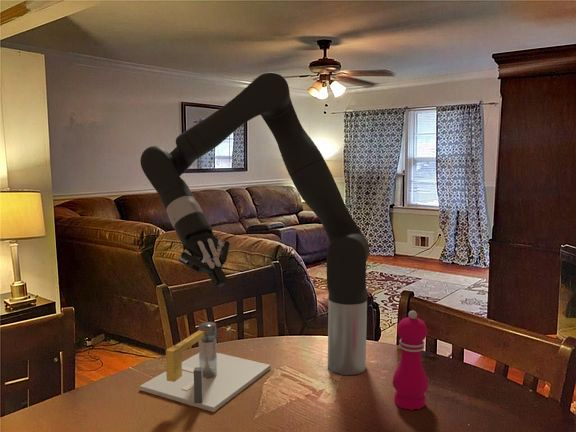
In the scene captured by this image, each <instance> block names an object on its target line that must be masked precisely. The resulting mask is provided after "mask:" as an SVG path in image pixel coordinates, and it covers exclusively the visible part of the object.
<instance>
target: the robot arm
mask: <svg viewBox="0 0 576 432" xmlns="http://www.w3.org/2000/svg"><path fill="white" fill-rule="evenodd" d="M258 116H261V118H262V119H263V120H264V122H265V124H266V126H267V127H268V129H269V131H270V132H271V133H272V135H273V138H274V140H275V141H276V144H277V147H278V149H279V153H280V155H281V158H282V161H283V163H284V167H285V168H286V170H287V172H288V175H289V177H290V179H291V180H292V183H293V185H294V187H295V189H296V190H297V192H298V195H299V196H300V197H301V199H302V200H303V201H304V202H305V204H306V205H307V206H308V207H309V209H310V210H311V211H312V212H313V213H314V215H315V216H316V217H317V218H318V220H319V221H320V223H321V225H322V227H323V228H324V231H325V233H326V236H327V237H328V240H329V245H328V247H327V250H326V251H327V252H326V286H327V291H328V292H327V293H328V310H327V312H328V313H327V314H328V318H327V319H328V320H327V321H328V322H327V328H328V329H327V369H329V371H331V372H332V373H335V374H338V375H341V376H343V375H345V376H354V375H359V374H361V373H364V372H365V371H366V361H367V360H366V359H367V357H366V355H367V322H368V321H367V319H368V314H367V313H368V312H367V311H368V289H367V261H368V259H369V256H370V245H369V242H368V240H367V238H366V237H365V234H364V233H363V232H362V231H361V229H360V227H359V226H358V224H357V223H356V222H355V220H354V218H353V217H352V215H351V213H350V212H349V210H348V208H347V206H346V204H345V202H344V199H343V196H342V194H341V192H340V189H339V186H338V185H337V183H336V181H335V179H334V176H333V174H332V172H331V169H330V167H329V166H328V164H327V162H326V160H325V158H324V156H323V155H322V153H321V151H320V150H319V147H317V145H316V144H315V142H314V141H313V139H312V138H311V137H310V135H309V134H308V133H307V131H306V130H305V129H304V128H303V126H302V124H301V121H300V120H299V117H298V114H297V112H296V109H295V108H294V105H293V102H292V99H291V93H290V87H289V83H288V81H287V80H286V79H285V77H284V76H282V75H281V74H280V73H277V72H273V71H269V72H263V73H262V74H259V75H258V76H257V77H256V78H255V79H254V80H252V81H251V82H250V83H249V84H248V85H247V86H246V87H244V88H243V90H241V91H240V93H238V94H236V96H235V97H234V98H232V99H231V100H230V101H228V102H227V103H226V104H224V105H223V106H222V107H220V108H219V109H218V110H216V111H215V112H213V113H212V114H210V115H208V116H207V117H205V118H204V119H202V120H201V121H199V122H198V123H196V124H194V125H193V126H192V127H189V128H188V129H187V130H184V131H183V132H182V133H180V134H179V135H178V136H177V137H176V138H175V145H176V146H175V148H174V149H173V150H171V151H170V152H169V151H167V150H166V149H164V148H163V147H161V146H157V145H153V146H149V147H146V149H145V150H144V151H143V152H142V154H141V155H140V161H139V162H140V167H141V170H142V172H143V174H144V176H146V178H147V179H148V181H149V183H150V184H151V186H152V187H153V189H154V190H155V191H156V193H157V194H158V196H159V199H160V201H161V203H162V205H163V207H164V209H165V211H166V212H167V216H168V219H169V221H170V223H171V226H172V228H173V229H174V232H175V233H176V236H177V237H178V239H179V241H180V243H181V244H182V250H183V251H182V252H181V253H180V255H179V257H178V262H179V263H181V264H183V265H184V266H186V267H188V268H189V269H191V270H193V271H194V272H196V273H198V274H202V273H205V274H207V275H208V276H209V278H210V281H211V283H212V284H213V285H214V286H216V287H217V288H220V287H223V286H225V284H226V283H227V276H226V274H225V272H224V270H223V269H222V268H223V266H224V264H226V262H227V261H228V260H227V259H228V254H229V250H230V249H229V248H230V245H231V244H230V241H227V240H225V241H221V240H219V238H218V237H217V236H216V235H214V232H213V228H212V226H211V224H210V223H209V221H208V218H207V217H206V215H205V213H204V211H203V209H202V207H201V206H200V204H199V202H198V201H197V200H196V199H195V196H194V195H193V192H192V191H191V190H190V187H189V185H188V184H187V183H186V181H185V180H184V179H183V178H181V176H182V175H183V174H184V173H185V172H186V171H187V170H189V168H190V167H191V166H192V164H193V163H194V162H196V160H197V159H198V160H199V159H200V158H201V157H203V156H205V155H206V154H208V153H209V152H210V151H212V150H215V148H217V147H218V146H219V145H221V144H222V143H223V142H225V140H226V139H228V137H230V136H231V135H232V134H233V133H234V132H235V131H237V130H239V128H241V126H243V125H245V124H246V123H248V122H249V121H250V120H253V119H254V118H256V117H258ZM217 250H218V252H219V254H218V252H217Z"/></svg>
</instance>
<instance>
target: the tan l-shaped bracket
mask: <svg viewBox="0 0 576 432" xmlns="http://www.w3.org/2000/svg"><path fill="white" fill-rule="evenodd" d="M214 339H216V340H217V323H215V322H213V321H206V322H205V321H204V322H200V323H199V324H198V330H197V331H195V332H194V333H192V334H190V335H189V336H187V337H186V338H185V339H182V340H180V342H177V343H176V344H175V345H172V346H171V347H169V348H167V349H165V363H166V364H165V369H166V375H167V381H171V382H175V381H176V380H178V379H179V378H180V377H182V362H183V360H182V353H183V352H184V351H186V350H187V349H189V348H190V347H191V346H193V345H195V344H196V343H199V340H202V341H210V340H214Z"/></svg>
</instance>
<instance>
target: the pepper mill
mask: <svg viewBox="0 0 576 432" xmlns="http://www.w3.org/2000/svg"><path fill="white" fill-rule="evenodd" d="M407 316H408V317H404V318H403V319H400V321H399V322H398V325H397V328H396V329H397V330H396V331H397V335H398V337H399V338H400V339H399V344H398V347H399V348H400V350H401V357H400V361H399V364H398V366H397V367H396V369H395V371H394V374H393V376H392V386H393V388H394V390H395V392H394V401H393V402H394V403H395V404H396V405H397V406H398V407H399V408H401V409H403V408H404V410H407V409H409V410H408V411H415V410H414V409H419V410H421V409H420V408H422V407H423V406H424V405H425V406H426V395H425V393H426V392H427V391H428V389H429V380H428V376H427V374H426V371H425V369H424V367H423V364H422V351H423V350H425V342H424V340H425V339H426V337H427V336H428V328H427V325H426V323H425V321H424V320H422V319H420V318H419V317H418V313H417V312H416V311H415V310H410V311H409V312H408V315H407ZM425 406H424V407H425ZM424 407H423V408H424ZM423 408H422V409H423Z"/></svg>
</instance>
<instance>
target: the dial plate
mask: <svg viewBox="0 0 576 432" xmlns="http://www.w3.org/2000/svg"><path fill="white" fill-rule="evenodd" d="M271 369H272V368H271V364H268V363H263V362H259V361H255V360H251V359H247V358H242V357H238V356H233V355H229V354H225V353H220V352H217V376H216V377H214V378H211V379H206V378H203V367H199V352H198V353H196V354H194V355H192V356H190V357H188V358H186V359H185V360H184V361H183V360H182V377H180V378H179V379H178V380H176V381H175V382H171V381H167V375H166V371H164V372H162V373H160V374H158V375H157V376H155V377H153V378H151V379H150V380H147V381H146V382H144V383H142V384H141V385H139V391H142V392H144V393H145V392H146V393H149V394H152V395H156V396H159V397H161V398H165V399H168V400H172V401H175V402H179V403H182V404H185V405H187V406H191V407H196V408H198V409H202V410H205V411H209V412H211V413H215V412H216V411H217V410H218V409H220V408H221V407H223V406H224V405H225V404H226V402H227V403H228V402H229V401H230V400H232V399H233V398H234V397H236V396H238V394H240V393H241V392H242V391H243V390H244V391H245V389H246V388H247V387H249V386H250V385H252V384H253V383H255V382H256V380H258V379H259V378H260V377H262V376H264V374H266V373H267V372H269V371H270V370H271Z"/></svg>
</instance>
